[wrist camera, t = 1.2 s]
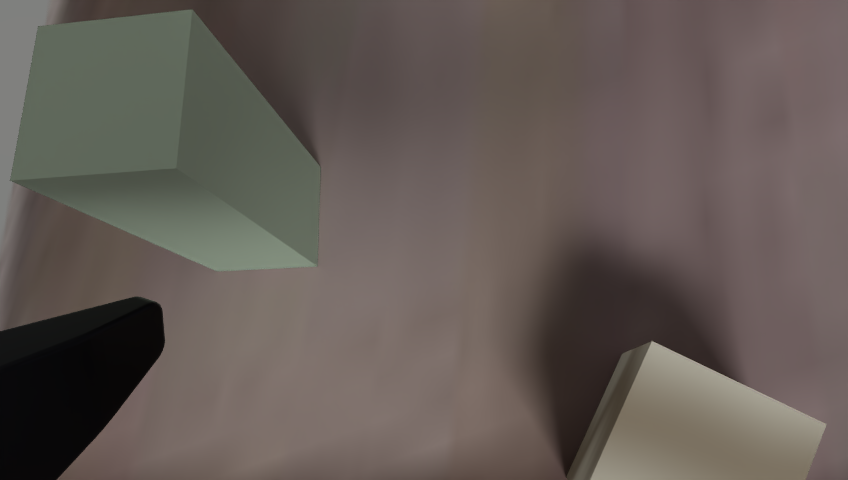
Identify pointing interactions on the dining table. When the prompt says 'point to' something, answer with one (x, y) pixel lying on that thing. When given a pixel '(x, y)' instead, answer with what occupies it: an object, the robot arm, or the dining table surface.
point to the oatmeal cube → (691, 426)
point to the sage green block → (167, 143)
